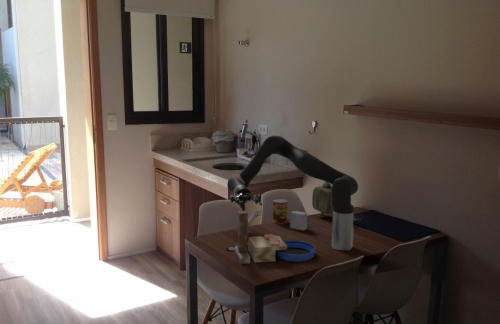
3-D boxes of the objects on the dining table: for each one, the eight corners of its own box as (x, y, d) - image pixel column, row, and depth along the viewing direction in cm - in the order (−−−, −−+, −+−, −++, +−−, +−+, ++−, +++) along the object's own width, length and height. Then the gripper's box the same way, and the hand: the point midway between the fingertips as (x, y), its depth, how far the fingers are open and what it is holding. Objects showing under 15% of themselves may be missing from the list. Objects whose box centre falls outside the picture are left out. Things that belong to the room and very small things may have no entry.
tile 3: (266, 239, 198) (266, 237, 198) (264, 236, 202) (264, 234, 202) (274, 239, 199) (274, 237, 199) (272, 236, 203) (272, 234, 202)
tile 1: (270, 246, 189) (270, 244, 189) (268, 243, 193) (268, 241, 193) (279, 245, 190) (280, 243, 190) (277, 242, 194) (277, 240, 194)
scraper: (240, 263, 187) (241, 217, 184) (235, 251, 202) (235, 207, 198) (250, 263, 188) (250, 216, 185) (243, 250, 202) (244, 207, 199)
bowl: (300, 245, 211) (300, 238, 211) (323, 258, 195) (323, 250, 195) (266, 251, 203) (266, 243, 202) (287, 265, 187) (288, 257, 187)
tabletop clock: (339, 219, 254) (341, 176, 250) (327, 221, 249) (329, 177, 245) (322, 213, 266) (324, 171, 262) (310, 215, 261) (312, 173, 257)
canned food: (276, 224, 242) (276, 202, 241) (270, 220, 250) (270, 199, 248) (289, 223, 245) (290, 201, 243) (283, 219, 253) (283, 198, 251)
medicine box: (306, 229, 236) (307, 212, 234) (303, 231, 232) (303, 214, 231) (293, 226, 240) (294, 210, 239) (289, 228, 236) (290, 212, 235)
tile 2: (270, 242, 194) (270, 240, 194) (268, 239, 198) (268, 237, 198) (279, 242, 195) (279, 240, 195) (277, 239, 199) (277, 237, 198)
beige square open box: (254, 262, 189) (254, 247, 188) (248, 250, 202) (248, 236, 201) (286, 260, 191) (287, 246, 190) (278, 249, 205) (278, 235, 204)
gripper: (228, 186, 220) (232, 194, 204) (256, 186, 223) (263, 193, 207) (227, 201, 221) (232, 210, 206) (256, 200, 224) (262, 209, 208)
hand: (247, 202), depth 206 cm, fingers open, 8 cm apart
